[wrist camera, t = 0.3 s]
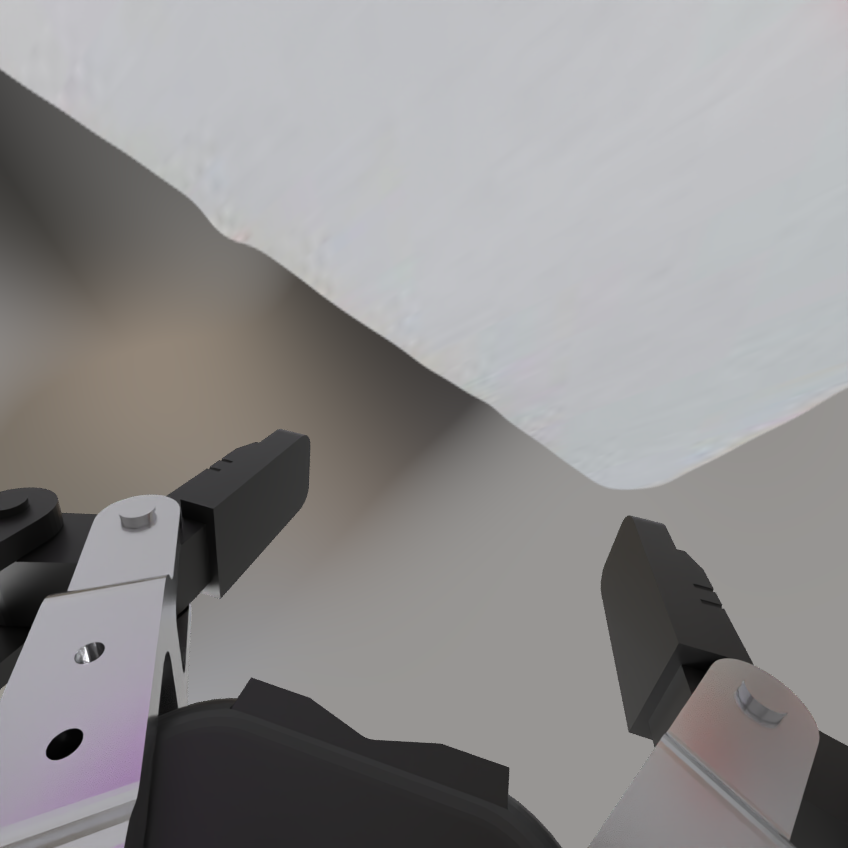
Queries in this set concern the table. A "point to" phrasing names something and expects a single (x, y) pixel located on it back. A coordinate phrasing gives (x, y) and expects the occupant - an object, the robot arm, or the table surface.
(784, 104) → the table surface
